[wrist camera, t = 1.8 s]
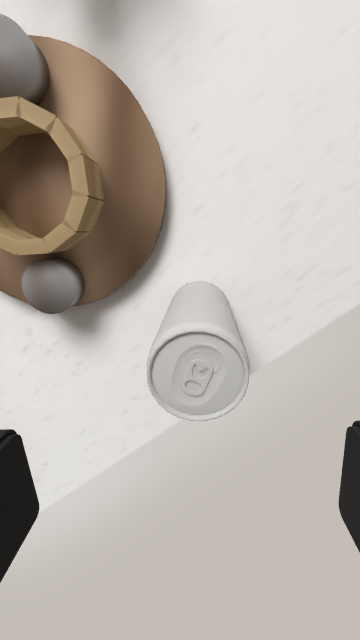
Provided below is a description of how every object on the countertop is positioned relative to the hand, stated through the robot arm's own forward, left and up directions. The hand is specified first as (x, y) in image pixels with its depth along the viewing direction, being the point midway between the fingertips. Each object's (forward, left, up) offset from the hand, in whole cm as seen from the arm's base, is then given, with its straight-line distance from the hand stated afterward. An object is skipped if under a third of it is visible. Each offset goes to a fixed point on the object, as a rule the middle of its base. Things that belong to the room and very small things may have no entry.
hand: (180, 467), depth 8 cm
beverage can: (0, 0, -17) cm, 17 cm away
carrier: (+11, -10, -17) cm, 22 cm away
